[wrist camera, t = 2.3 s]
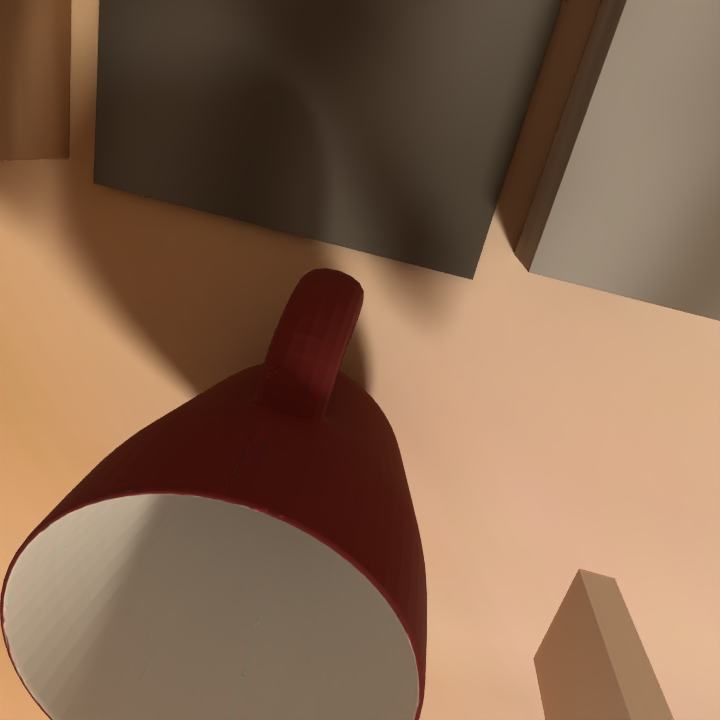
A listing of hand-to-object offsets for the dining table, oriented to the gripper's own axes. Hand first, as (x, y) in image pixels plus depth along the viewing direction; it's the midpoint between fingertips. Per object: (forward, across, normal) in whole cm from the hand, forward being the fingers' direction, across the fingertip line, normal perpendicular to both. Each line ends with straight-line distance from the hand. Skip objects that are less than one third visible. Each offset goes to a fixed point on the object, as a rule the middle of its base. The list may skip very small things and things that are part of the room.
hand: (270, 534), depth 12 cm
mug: (+8, -1, 0) cm, 8 cm away
